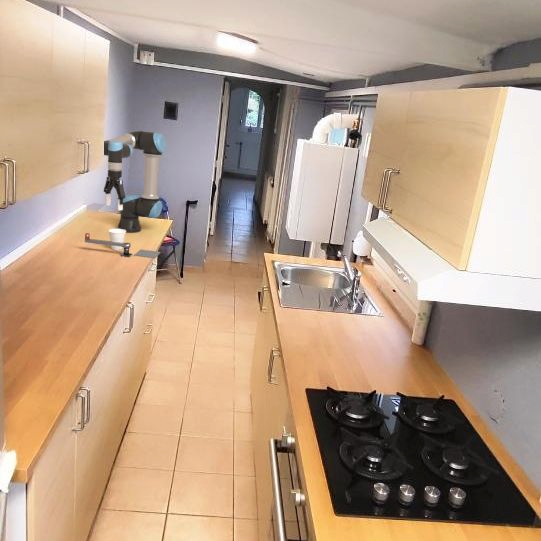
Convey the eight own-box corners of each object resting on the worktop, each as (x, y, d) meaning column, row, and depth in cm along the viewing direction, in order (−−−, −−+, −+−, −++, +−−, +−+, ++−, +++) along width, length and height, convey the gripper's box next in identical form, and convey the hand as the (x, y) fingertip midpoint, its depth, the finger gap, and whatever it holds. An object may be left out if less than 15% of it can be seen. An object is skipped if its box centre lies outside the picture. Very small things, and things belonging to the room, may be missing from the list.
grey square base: (123, 253, 310) (123, 245, 309) (132, 254, 310) (132, 246, 309) (120, 256, 306) (120, 247, 304) (129, 257, 305) (129, 249, 304)
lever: (86, 240, 310) (86, 232, 308) (131, 246, 308) (131, 238, 307) (83, 242, 305) (83, 234, 304) (129, 248, 304) (129, 239, 303)
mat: (140, 250, 321) (140, 249, 321) (160, 252, 320) (160, 251, 320) (134, 255, 309) (134, 254, 309) (154, 258, 309) (155, 257, 309)
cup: (123, 252, 314) (123, 233, 310) (105, 250, 314) (106, 231, 310) (127, 247, 323) (128, 229, 320) (111, 246, 323) (111, 227, 320)
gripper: (97, 166, 309) (97, 203, 315) (120, 173, 292) (119, 212, 298) (109, 166, 314) (109, 202, 320) (132, 173, 297) (131, 211, 303)
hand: (114, 207), depth 309 cm, fingers open, 13 cm apart
